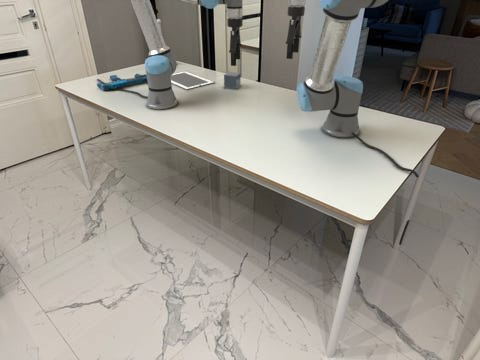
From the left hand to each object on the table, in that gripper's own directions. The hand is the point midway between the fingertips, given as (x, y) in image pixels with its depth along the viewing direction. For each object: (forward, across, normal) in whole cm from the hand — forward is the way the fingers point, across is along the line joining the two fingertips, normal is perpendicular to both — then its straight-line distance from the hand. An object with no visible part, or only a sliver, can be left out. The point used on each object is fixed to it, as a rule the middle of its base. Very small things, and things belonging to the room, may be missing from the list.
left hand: (235, 62), depth 178 cm
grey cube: (+18, -16, -5) cm, 25 cm away
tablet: (+18, -25, -36) cm, 47 cm away
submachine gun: (+18, -16, -72) cm, 75 cm away
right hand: (-6, +9, +29) cm, 31 cm away
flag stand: (+18, -58, -62) cm, 87 cm away
